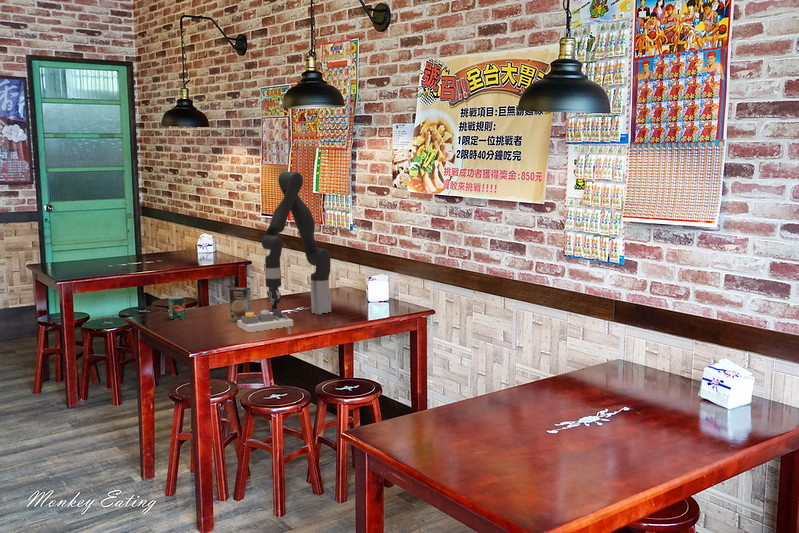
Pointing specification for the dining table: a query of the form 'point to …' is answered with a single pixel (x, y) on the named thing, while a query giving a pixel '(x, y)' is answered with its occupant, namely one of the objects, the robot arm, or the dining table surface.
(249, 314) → the amber button
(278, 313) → the dark grey cube
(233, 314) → the coffee box
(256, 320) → the control panel
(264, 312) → the grey switch
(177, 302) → the canned tomato
